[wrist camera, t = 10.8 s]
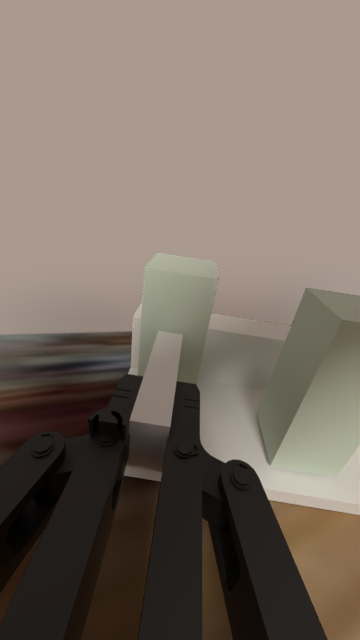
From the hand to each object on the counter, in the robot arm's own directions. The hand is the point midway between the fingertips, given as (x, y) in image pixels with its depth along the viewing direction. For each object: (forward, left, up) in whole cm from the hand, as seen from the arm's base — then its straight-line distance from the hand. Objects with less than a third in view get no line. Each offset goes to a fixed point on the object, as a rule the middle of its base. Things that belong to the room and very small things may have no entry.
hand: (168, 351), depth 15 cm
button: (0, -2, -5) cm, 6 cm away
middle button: (-9, +1, -5) cm, 10 cm away
